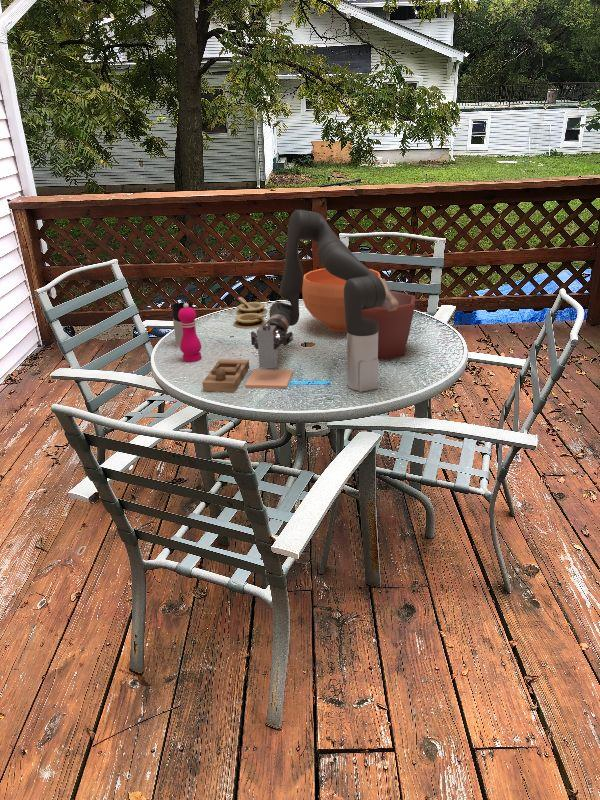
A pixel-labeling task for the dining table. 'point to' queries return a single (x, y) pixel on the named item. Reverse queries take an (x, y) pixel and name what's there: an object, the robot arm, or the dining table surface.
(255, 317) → the tableware set
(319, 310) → the bowl
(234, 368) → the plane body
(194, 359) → the pepper mill
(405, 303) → the bucket
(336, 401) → the dining table surface
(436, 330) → the dining table surface
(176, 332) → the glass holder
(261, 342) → the grey square grinder
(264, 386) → the coaster
